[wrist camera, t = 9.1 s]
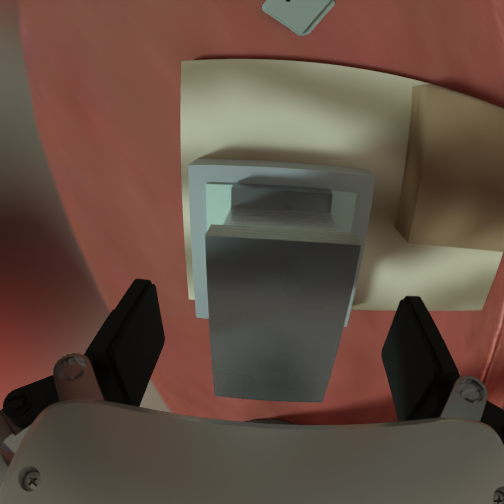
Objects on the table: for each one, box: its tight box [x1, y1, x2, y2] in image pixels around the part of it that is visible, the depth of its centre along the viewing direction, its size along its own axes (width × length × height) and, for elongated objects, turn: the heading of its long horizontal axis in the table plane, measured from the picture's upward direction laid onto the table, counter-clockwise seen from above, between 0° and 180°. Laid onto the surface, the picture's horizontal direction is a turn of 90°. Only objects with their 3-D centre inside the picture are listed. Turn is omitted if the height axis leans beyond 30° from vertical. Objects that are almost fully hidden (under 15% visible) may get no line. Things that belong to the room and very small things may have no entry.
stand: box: [395, 86, 504, 252], centre depth 16 cm, size 9×9×2 cm
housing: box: [205, 183, 361, 402], centre depth 15 cm, size 8×5×7 cm, turn 178°
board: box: [181, 59, 504, 311], centre depth 19 cm, size 16×24×1 cm, turn 88°
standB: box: [188, 159, 376, 327], centre depth 19 cm, size 10×10×2 cm
